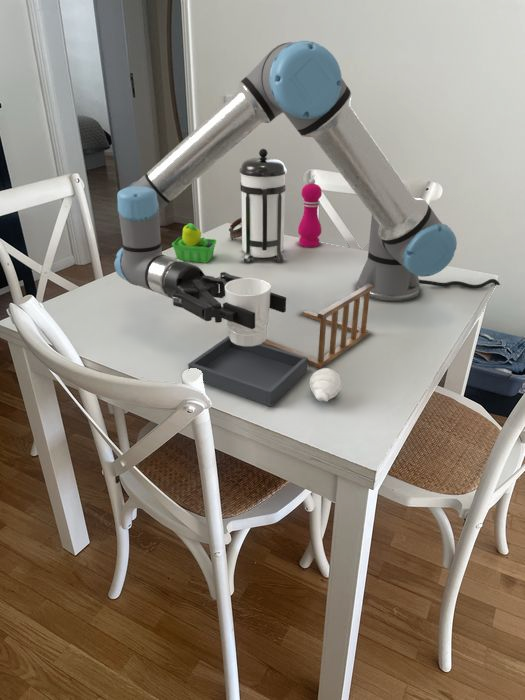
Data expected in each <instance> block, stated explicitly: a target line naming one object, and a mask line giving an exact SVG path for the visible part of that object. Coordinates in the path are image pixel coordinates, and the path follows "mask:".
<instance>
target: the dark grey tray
mask: <svg viewBox="0 0 525 700" xmlns="http://www.w3.org/2000/svg"><path fill="white" fill-rule="evenodd" d="M308 365H309V364H308V358H307V357H304V356H300V355H297V354H293V353H290V352H287V351H283V350H280V349H277V348H273V347H270V346H266V345H263V344H260V345H256V346H240V345H236V344H234V343H233V342H231V340H230V338H229V335H228V336H226V337H225V338H224V339H222V340H220V341H219V342H218V343H216V344H215V345H213V346H212V347H210V348H209V349H207V350H206V351H205V352H204V353H201V354H200V355H198V357H196V358H194V359H193V360H192V361H190V362H189V363H187V368H188V369H190V368H197V369H199V370H201V371H202V373H203V381H204V383H203V384H206V385H209V386H211V387H214V388H217V389H220V390H222V391H225V392H228V393H231V394H234V395H237V396H239V397H242V398H245V399H247V400H251V401H253V402H255V403H259V404H261V405H265V406H267V407H272V406H273V405H275V403H276V402H277V401H278V400H279V399H280V398H282V397H283V396H284V395H285V394H286V393H287V392H288V391H289V390H290V389H291V388H292V387H293V386H294V385H295V384H296V383H297V382H299V380H300V379H302V378H303V376H305V374H306V373H307V372H308V367H309V366H308Z"/></svg>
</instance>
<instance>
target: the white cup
mask: <svg viewBox="0 0 525 700" xmlns="http://www.w3.org/2000/svg"><path fill="white" fill-rule="evenodd" d="M271 290H272V285H271V284H270V283H269V282H267V281H266V280H263V279H260V278H254V277H241V278H240V279H235V280H232V281H230V282H228V283H227V284H226V285H225V296H224V298H225V299H224V300H225V303H229V304H231V305H234V306H237V307H240V308H243V309H246V310H248V311H251V312H254V313H255V328H254V329H250V328H247V327H245V326H242V325H240V324H237V323H235V322H231V321H228V320H226V322H227V327H228V336H229V338H230V340H231V342H233V343H234V344H236V345H240V346H256V345H260V344H262V343H263V342H265V340H266V339H267V338H268V327H269V317H270V309H271V308H270V292H271Z"/></svg>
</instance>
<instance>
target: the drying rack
mask: <svg viewBox="0 0 525 700" xmlns="http://www.w3.org/2000/svg"><path fill="white" fill-rule="evenodd" d="M371 290H373V285H371V284H367V285H365V286H364V287H362V288H360V289H358V288H357V290H355V291H353V292H351V293H350V294H348V295H346V296H344V297H343V298H341V299H339V300H338V301H336V302H334V303H333V304H331V305H329V306H328V307H326V308H323V309H322V310H321V311H319V312H317V313H316V312H314V311H311V310H307V309H305V310H303V311H302V314H301V315H302V316H303V317H306V318H308V319H309V318H310V319H311V320H316V321H319V336H318V352H317V358H315V357H313V356H311V355H308V354H305V353H303V352H300V351H298V350H296V349H292V348H290V347H288V346H284V345H282V344H280V343H277V342H274V341H272V340H269V339H267V338H266V340H265V342H263V343H262V344H263V345H266V346H270V347H273V348H277V349H280V350H283V351H287V352H290V353H293V354H297V355H300V356H304V357H307V358H308V365H310V366H313V367H315V368H318V369H322V368H324V367H325V365H327V364H328V363H330V362H331V361H332V360H334V359H336V358H337V357H338V356H340V355H341V354H343V353H344V352H345V351H347V350H348V349H350V348H351V347H352V346H354V345H356V344H357V343H358V342H359V341H361V340H363V339H364V338H366V337H367V336H368V335H369V333H370V331H369V330H367V323H368V315H369V307H370V306H369V305H370V291H371ZM362 297H363V303H362V305H363V306H362V315H361V323H360V327H358V322H359V312H360V305H361V304H360V302H361V298H362ZM351 303H353V309H352V318H351V319H352V320H351V324H350V323H349V314H350V304H351ZM341 309H342V319H341V320H342V321H341V320H338V319H339V310H341ZM330 316H331V317H330ZM327 325H330V339H329V351H328V352H327V353H326V354H325V349H326V348H325V346H326V331H327ZM338 328H339V329H341V330H340V331H341V332H340V343H339V345H336V344H337V332H338ZM348 332H350V337H349V338H348V339H347V337H348V336H347V335H348Z"/></svg>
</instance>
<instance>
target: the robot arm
mask: <svg viewBox="0 0 525 700" xmlns="http://www.w3.org/2000/svg"><path fill="white" fill-rule="evenodd" d="M352 94H353V93H352V91H351V90H350V88H349V87H348V85H347V84H346V82H345V80H344V79H343V77H342V70H341V67H340V65H339V62H338V60H337V58H336V57H335V55H333V54H332V52H331V51H330V50H329V49H328V48H326V47H325V46H323V45H321V44H319V43H317V42H314V41H309V40H300V41H299V40H298V41H293V42H291V41H289V42H285V43H281V44H279V45H276V46H275V47H273V48H272V49H271V50H270V51H269V52H268V53H267V54H266V55H265V56H264V57H263V58H262V59H261V61H260V62H258V64H257V65H256V66H255V67H254V68H253V69H252V70H251V71H250V72H249V73H248V74H247V75H246V76H244V77H243V78H242V79H241V81H239V83H238V89H237V91H236V92H235V93H234V94H233V95H232V96H231V97H230V98H229V99H228V100H226V101H225V102H224V103H223V104H222V105H221V106H220V107H218V109H216V110H215V111H214V112H213V113H212V114H211V115H210V116H209V117H207V118H206V119H205V120H204V121H203V122H202V123H201V124H200V125H199V126H198V127H196V128H195V129H194V130H193V131H192V132H191V133H189V134H188V135H187V136H186V137H185V138H184V139H183V140H182V141H181V142H179V144H177V145H176V146H175V147H174V148H173V149H172V150H171V151H169V152H168V153H167V154H166V155H165V156H164V157H163V158H162V159H161V160H160V161H158V162H157V163H156V164H155V165H154V166H152V168H150V169H149V170H148V171H147V172H146V174H144V175H143V176H142V177H140V179H138V180H137V181H134V182H132V183H131V184H129V185H128V186H127V187H124V188H122V189H120V190H118V192H117V194H116V198H117V209H116V210H117V213H118V217H119V225H120V226H119V227H120V232H121V239H122V247H121V248H120V249H119V250H118V251H117V253H116V255H115V260H114V261H113V262H114V269H115V272H116V274H117V275H118V277H120V278H121V279H122V280H124V281H126V282H128V283H129V284H131V285H133V286H138V287H141V288H145V289H146V290H149V291H151V292H154V293H157V294H159V295H162V296H164V297H167V298H169V299H172V305H173V306H174V307H177V308H182V309H184V310H185V311H187V312H189V313H191V314H192V315H194V316H196V317H198V318H200V319H201V320H203V321H205V322H211V321H212V319H213V318H214V322H215V324H220V323H222V322H223V320H225V321H227V320H228V321H231V322H235V323H237V324H240V325H242V326H245V327H247V328H250V329H254V328H255V313H254V312H251V311H248V310H246V309H243V308H240V307H237V306H234V305H231V304H229V303H226V302H223V303H221V302H219V300H218V299H223V298H225V285H226V284H227V283H228V282H230V281H232V280H235V279H240V278H242V277H240V276H237V275H232V274H230V273H228V272H226V271H222V272H220V275H219V277H218V276H217V277H215V276H212V275H206V274H205V273H204V272H203V270H202V269H201V267H199V266H198V265H195V264H193V263H189V262H188V261H182V260H178V259H177V258H174V257H171V256H168V255H165V254H164V253H163V250H162V249H163V248H162V240H161V239H162V238H161V224H160V222H161V221H160V212H161V211H162V210H164V208H166V207H167V206H168V205H169V204H170V203H171V202H172V201H173V200H174V199H176V198H177V197H178V196H179V195H180V194H181V193H182V192H184V191H185V190H186V189H187V188H188V187H190V186H191V185H192V184H193V183H194V182H195V181H196V180H197V179H199V178H200V177H201V176H202V175H203V174H204V173H206V172H207V171H208V170H209V169H210V168H211V167H213V166H214V165H215V164H216V163H217V162H218V161H220V159H221V158H223V157H224V156H225V155H226V154H228V153H229V152H230V151H231V150H232V149H233V148H235V146H237V145H238V144H239V143H240V142H241V141H243V140H244V139H245V138H246V137H247V136H248V135H249V134H250V133H251V132H253V131H254V130H255V129H256V128H258V127H259V125H261V124H270V123H271V122H272V121H273V120H275V119H276V118H277V117H278V116H280V115H281V114H284V115H285V117H286V118H287V119H288V120H289V122H290V123H291V124H292V125H293V127H294V128H295V129H296V131H297V132H298V133H299V135H300V136H301V137H305V138H313V139H314V141H315V142H316V143H317V144H318V146H319V148H320V149H321V150H322V151H323V152H324V153H325V155H326V156H327V158H328V159H329V160H330V161H331V163H332V164H333V165H334V167H335V168H336V169H337V171H338V172H339V174H340V175H341V176H342V178H344V180H345V181H346V183H347V184H348V185H349V186H350V188H351V189H352V190H353V192H354V193H355V195H357V197H358V199H359V200H360V202H362V203H363V205H364V206H365V208H366V209H367V210H368V211H369V213H370V214H371V218H370V219H371V220H370V230H369V240H368V252H367V259H366V261H365V263H364V266H363V268H362V270H361V273H360V274H359V277H358V280H357V288H356V289H357V290H358V289H360V288H362V287H364V286H365V285H367V284H371V285H373V290H371V291H370V298H371V299H374V300H379V301H384V302H404V301H408V300H412V299H414V298H416V297H417V296H418V295H419V293H420V284H421V285H430V286H435V287H451V286H460V287H464V288H468V289H473V290H476V289H482V288H484V287H486V286H488V285H490V284H492V283H493V284H494V285H496V286H501V283H500V282H499V281H498V280H497V279H495V278H490V279H488V280H486V281H484V282H482V283H478V284H471V283H467V282H464V281H458V280H452V281H447V282H440V281H433V280H427V279H426V280H425V279H420V278H419V277H421V278H422V277H431V276H434V275H437V274H438V273H440V272H441V271H443V270H444V269H446V268H447V267H448V265H449V264H450V263H451V261H452V260H453V258H454V257H455V252H456V250H457V245H458V243H457V242H458V241H457V236H456V235H455V232H454V231H453V230H452V228H451V227H449V226H448V225H447V224H445V223H443V222H442V221H441V220H440V219H439V218H438V216H437V215H436V213H435V212H434V211H433V209H432V207H431V206H430V205H429V204H428V202H427V201H426V199H424V198H420V197H415V196H414V195H413V194H412V192H411V191H410V190H409V188H408V187H407V186H406V184H405V182H404V181H403V180H402V178H401V176H400V175H399V174H398V172H397V171H396V170H395V168H394V167H393V165H392V164H391V163H390V161H389V160H388V158H387V157H386V155H385V154H384V152H383V151H382V149H381V148H380V147H379V146H378V144H377V142H376V141H375V140H374V138H373V136H371V133H370V132H369V131H368V130H367V128H366V127H365V125H364V124H363V122H362V121H361V120H360V118H359V117H358V115H357V113H356V112H355V111H354V109H353V108H352V106H351V102H352V101H351V100H352ZM370 298H369V299H370ZM269 309H271V310H274V311H276V312H280V313H282V314H284V313H286V311H287V297H286V296H283V295H280V294H277V293H274V292H271V291H270V308H269Z"/></svg>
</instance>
